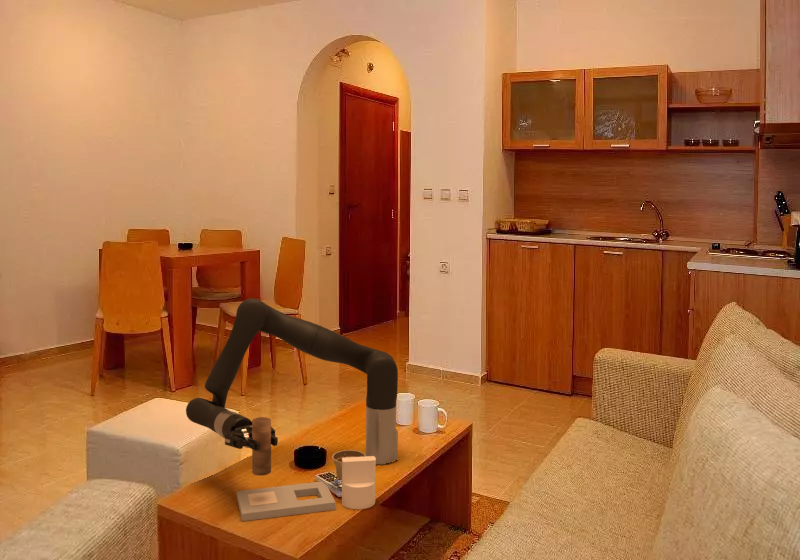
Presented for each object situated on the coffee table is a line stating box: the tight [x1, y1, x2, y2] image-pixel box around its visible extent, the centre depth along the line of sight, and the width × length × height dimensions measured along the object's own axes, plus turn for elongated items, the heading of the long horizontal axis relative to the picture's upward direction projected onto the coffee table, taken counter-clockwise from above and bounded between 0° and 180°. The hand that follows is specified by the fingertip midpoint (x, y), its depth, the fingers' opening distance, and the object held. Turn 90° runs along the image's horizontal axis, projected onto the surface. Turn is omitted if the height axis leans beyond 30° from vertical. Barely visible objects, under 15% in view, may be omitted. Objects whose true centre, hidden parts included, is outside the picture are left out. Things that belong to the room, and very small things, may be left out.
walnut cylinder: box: [251, 416, 272, 477], centre depth 190 cm, size 5×5×14 cm
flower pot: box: [331, 449, 366, 480], centre depth 205 cm, size 9×9×9 cm
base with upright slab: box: [341, 456, 377, 510], centre depth 195 cm, size 9×9×12 cm
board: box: [236, 481, 337, 522], centre depth 194 cm, size 24×14×2 cm, turn 108°
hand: (267, 444), depth 188 cm, fingers closed on walnut cylinder, 4 cm apart
